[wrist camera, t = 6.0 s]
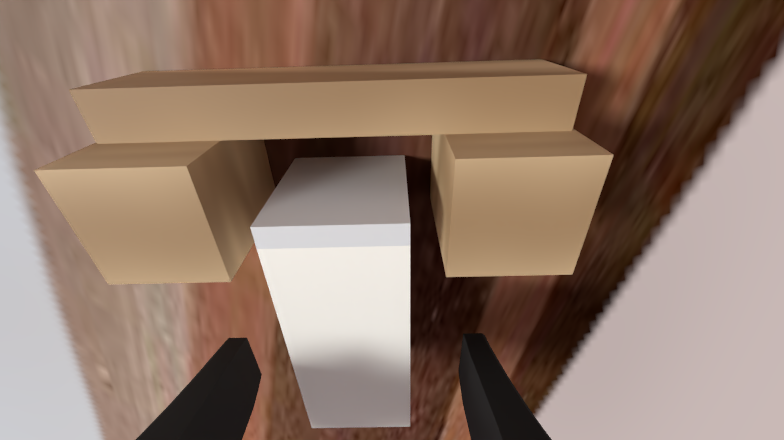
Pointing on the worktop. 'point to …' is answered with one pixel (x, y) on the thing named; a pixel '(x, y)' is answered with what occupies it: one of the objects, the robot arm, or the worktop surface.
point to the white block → (343, 285)
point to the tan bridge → (326, 120)
